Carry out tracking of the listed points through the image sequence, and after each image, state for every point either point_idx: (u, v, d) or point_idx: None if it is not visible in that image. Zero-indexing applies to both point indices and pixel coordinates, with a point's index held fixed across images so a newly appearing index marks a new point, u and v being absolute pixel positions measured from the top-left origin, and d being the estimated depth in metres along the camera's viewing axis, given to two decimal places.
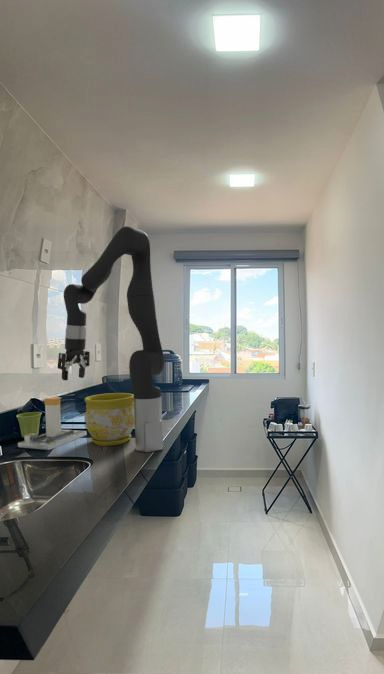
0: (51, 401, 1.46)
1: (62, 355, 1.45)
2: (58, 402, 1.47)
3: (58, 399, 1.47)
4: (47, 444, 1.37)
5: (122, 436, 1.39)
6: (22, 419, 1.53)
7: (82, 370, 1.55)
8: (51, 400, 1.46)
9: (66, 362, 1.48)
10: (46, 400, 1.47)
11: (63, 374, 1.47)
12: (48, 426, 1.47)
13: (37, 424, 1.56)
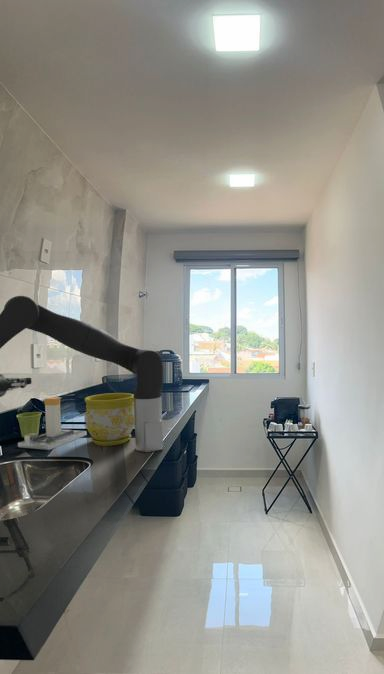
0: (51, 401, 1.46)
1: (24, 381, 1.28)
2: (58, 402, 1.47)
3: (58, 399, 1.47)
4: (47, 444, 1.37)
5: (122, 436, 1.39)
6: (22, 419, 1.53)
7: (23, 379, 1.35)
8: (51, 400, 1.46)
9: None
10: (46, 400, 1.47)
11: (27, 381, 1.35)
12: (48, 426, 1.47)
13: (37, 424, 1.56)
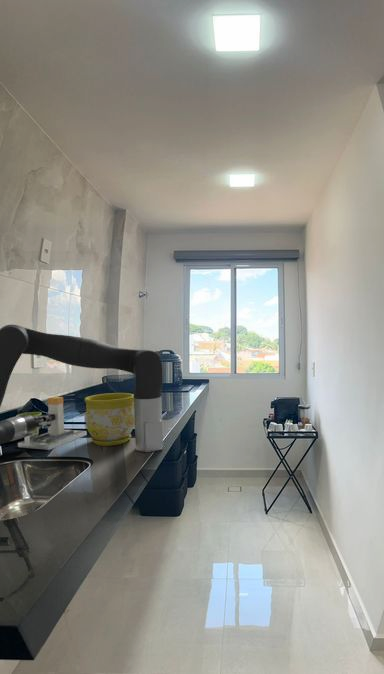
0: (54, 400, 1.48)
1: (50, 420, 1.38)
2: (61, 401, 1.49)
3: (61, 398, 1.49)
4: (47, 444, 1.37)
5: (122, 436, 1.39)
6: None
7: (47, 416, 1.45)
8: (54, 399, 1.47)
9: (44, 421, 1.41)
10: (49, 399, 1.48)
11: (52, 417, 1.45)
12: (51, 425, 1.48)
13: None
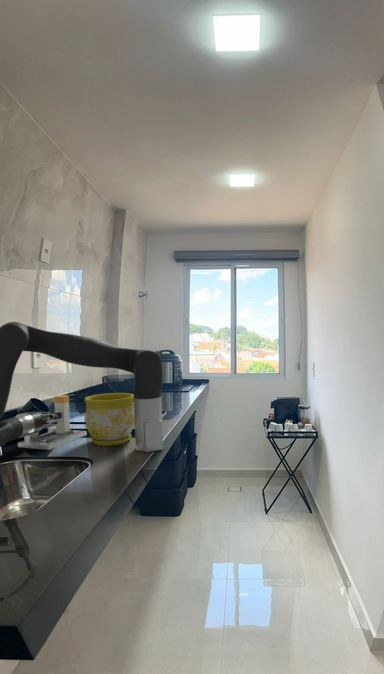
0: (60, 398, 1.51)
1: (57, 418, 1.41)
2: (67, 400, 1.52)
3: (67, 397, 1.52)
4: (47, 444, 1.37)
5: (122, 436, 1.39)
6: None
7: (54, 414, 1.48)
8: (60, 398, 1.50)
9: (50, 419, 1.44)
10: (55, 398, 1.51)
11: (58, 415, 1.48)
12: None
13: None
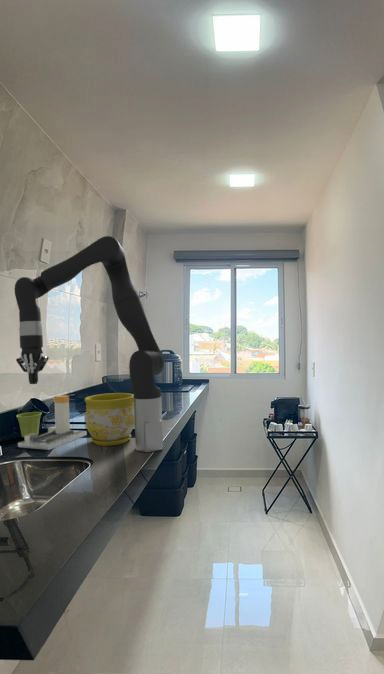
0: (60, 398, 1.51)
1: (47, 359, 1.37)
2: (67, 400, 1.52)
3: (67, 397, 1.52)
4: (47, 444, 1.37)
5: (122, 436, 1.39)
6: (22, 419, 1.53)
7: None
8: (60, 398, 1.50)
9: (35, 364, 1.37)
10: (55, 398, 1.51)
11: (36, 377, 1.38)
12: (57, 423, 1.51)
13: (37, 424, 1.56)
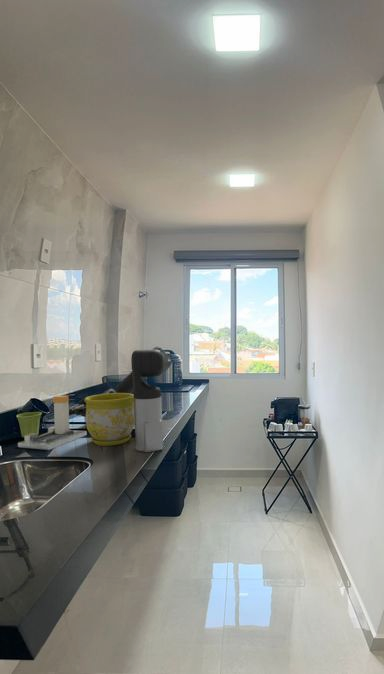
0: (59, 399, 1.50)
1: None
2: (66, 400, 1.52)
3: (66, 397, 1.52)
4: (47, 444, 1.37)
5: (122, 436, 1.39)
6: (22, 419, 1.53)
7: None
8: (60, 398, 1.50)
9: None
10: (55, 398, 1.51)
11: (70, 413, 1.55)
12: (57, 423, 1.51)
13: (37, 424, 1.56)
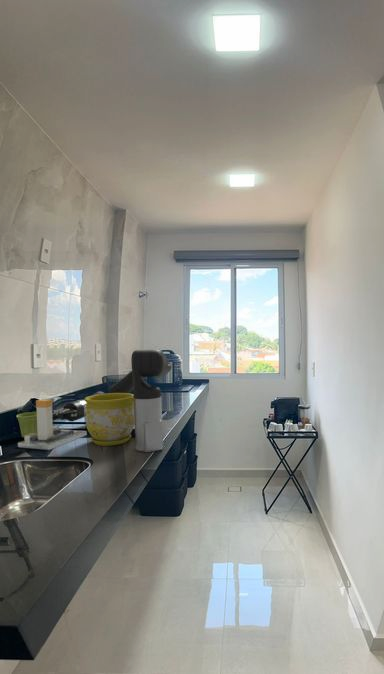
0: (42, 403, 1.42)
1: (74, 416, 1.51)
2: (50, 404, 1.43)
3: (50, 401, 1.43)
4: (47, 444, 1.37)
5: (122, 436, 1.39)
6: (22, 419, 1.53)
7: None
8: (42, 402, 1.42)
9: None
10: (37, 402, 1.43)
11: (54, 418, 1.47)
12: (39, 429, 1.43)
13: None
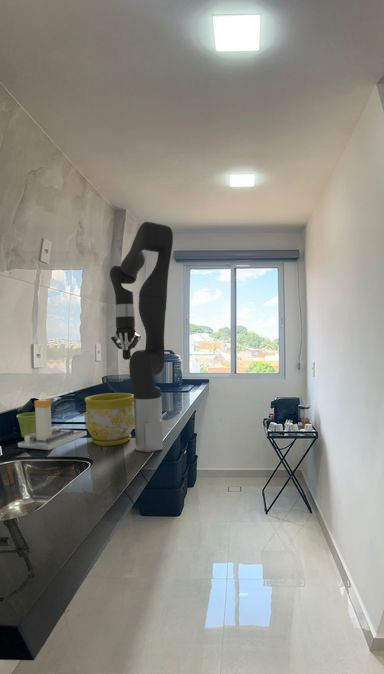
0: (41, 403, 1.41)
1: (139, 338, 1.55)
2: (49, 404, 1.43)
3: (49, 401, 1.43)
4: (47, 444, 1.37)
5: (122, 436, 1.39)
6: (22, 419, 1.53)
7: None
8: (41, 402, 1.41)
9: (129, 342, 1.56)
10: (36, 402, 1.42)
11: (129, 353, 1.56)
12: (38, 429, 1.42)
13: None
